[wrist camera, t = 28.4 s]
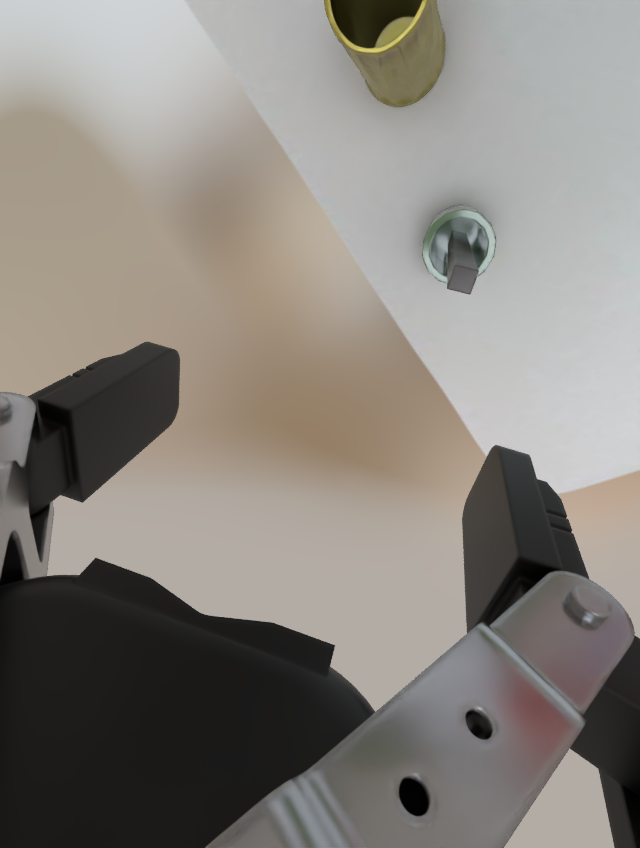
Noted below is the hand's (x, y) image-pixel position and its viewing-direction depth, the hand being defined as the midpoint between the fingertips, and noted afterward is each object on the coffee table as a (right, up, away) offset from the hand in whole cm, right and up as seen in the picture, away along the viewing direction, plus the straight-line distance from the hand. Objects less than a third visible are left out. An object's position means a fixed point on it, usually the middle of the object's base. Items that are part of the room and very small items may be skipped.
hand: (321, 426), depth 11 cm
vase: (+6, +28, +22) cm, 36 cm away
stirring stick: (+12, +16, +26) cm, 33 cm away
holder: (+12, +16, +26) cm, 33 cm away
